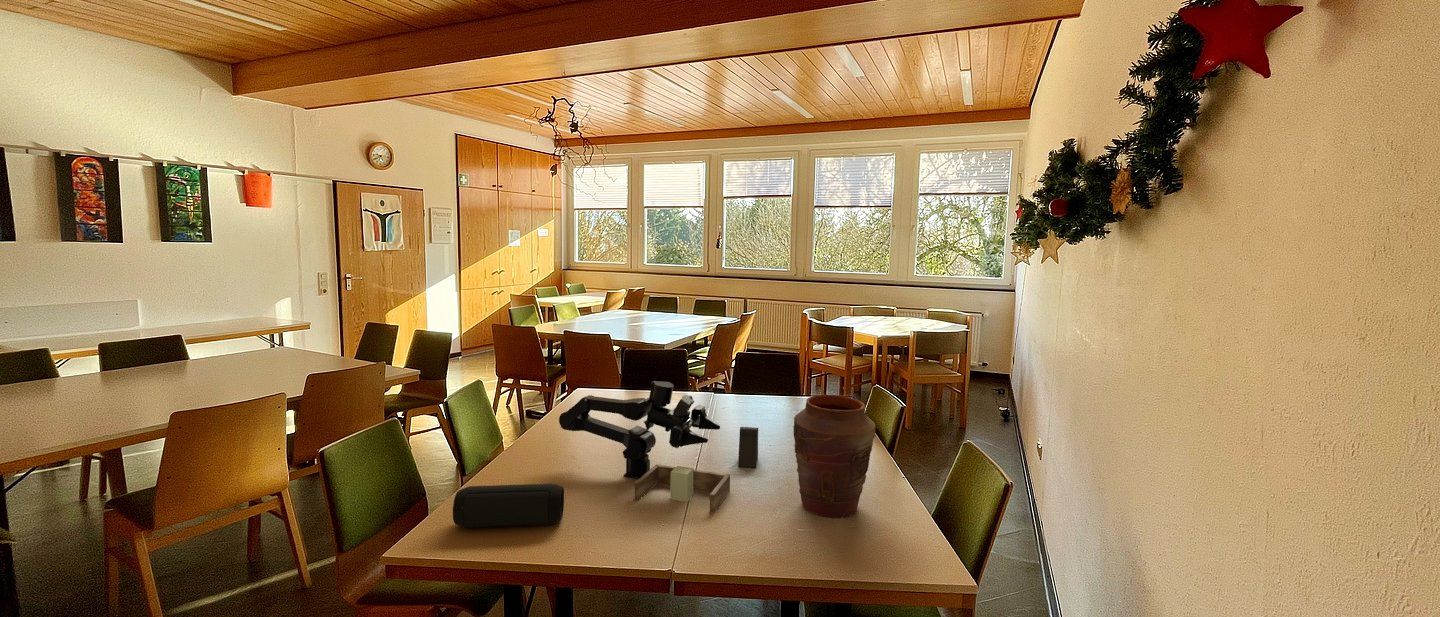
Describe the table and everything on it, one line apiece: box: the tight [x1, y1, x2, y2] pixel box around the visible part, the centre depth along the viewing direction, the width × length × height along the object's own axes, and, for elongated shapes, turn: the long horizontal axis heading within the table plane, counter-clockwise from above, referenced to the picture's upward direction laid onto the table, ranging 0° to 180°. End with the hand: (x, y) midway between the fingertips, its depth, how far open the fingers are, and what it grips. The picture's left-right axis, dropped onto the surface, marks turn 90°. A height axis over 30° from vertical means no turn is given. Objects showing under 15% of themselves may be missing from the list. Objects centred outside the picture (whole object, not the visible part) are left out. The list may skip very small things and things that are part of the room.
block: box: [669, 465, 695, 503], centre depth 169 cm, size 5×5×8 cm
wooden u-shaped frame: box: [633, 463, 731, 514], centre depth 170 cm, size 23×15×5 cm, turn 73°
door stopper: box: [737, 426, 759, 469], centre depth 197 cm, size 9×6×12 cm, turn 172°
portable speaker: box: [452, 483, 565, 529], centre depth 150 cm, size 26×10×10 cm, turn 98°
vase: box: [793, 394, 876, 519], centre depth 163 cm, size 23×22×30 cm
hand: (713, 434), depth 175 cm, fingers open, 9 cm apart
